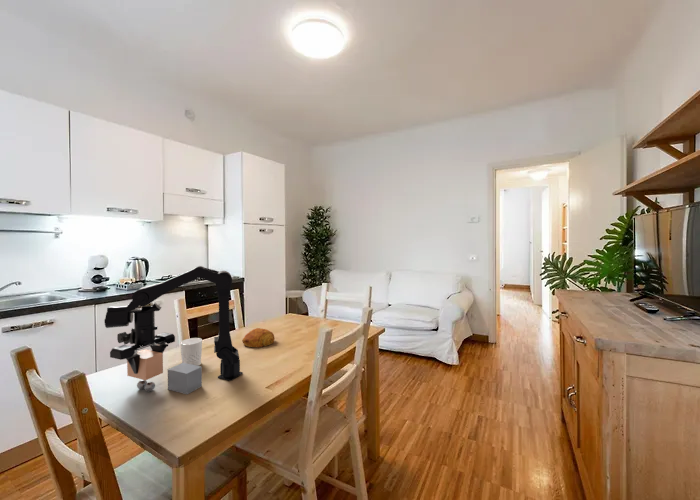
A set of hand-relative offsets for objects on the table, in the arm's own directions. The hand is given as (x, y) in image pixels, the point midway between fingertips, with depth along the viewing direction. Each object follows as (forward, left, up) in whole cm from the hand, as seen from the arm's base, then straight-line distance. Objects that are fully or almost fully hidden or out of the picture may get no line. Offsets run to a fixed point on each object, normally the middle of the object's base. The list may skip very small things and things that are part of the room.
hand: (145, 369), depth 103 cm
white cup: (+3, -21, -7) cm, 22 cm away
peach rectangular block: (0, 0, -2) cm, 2 cm away
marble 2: (-2, 0, -7) cm, 7 cm away
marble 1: (+2, 0, -7) cm, 7 cm away
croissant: (-5, -53, -7) cm, 54 cm away
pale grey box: (-11, -6, -7) cm, 14 cm away
